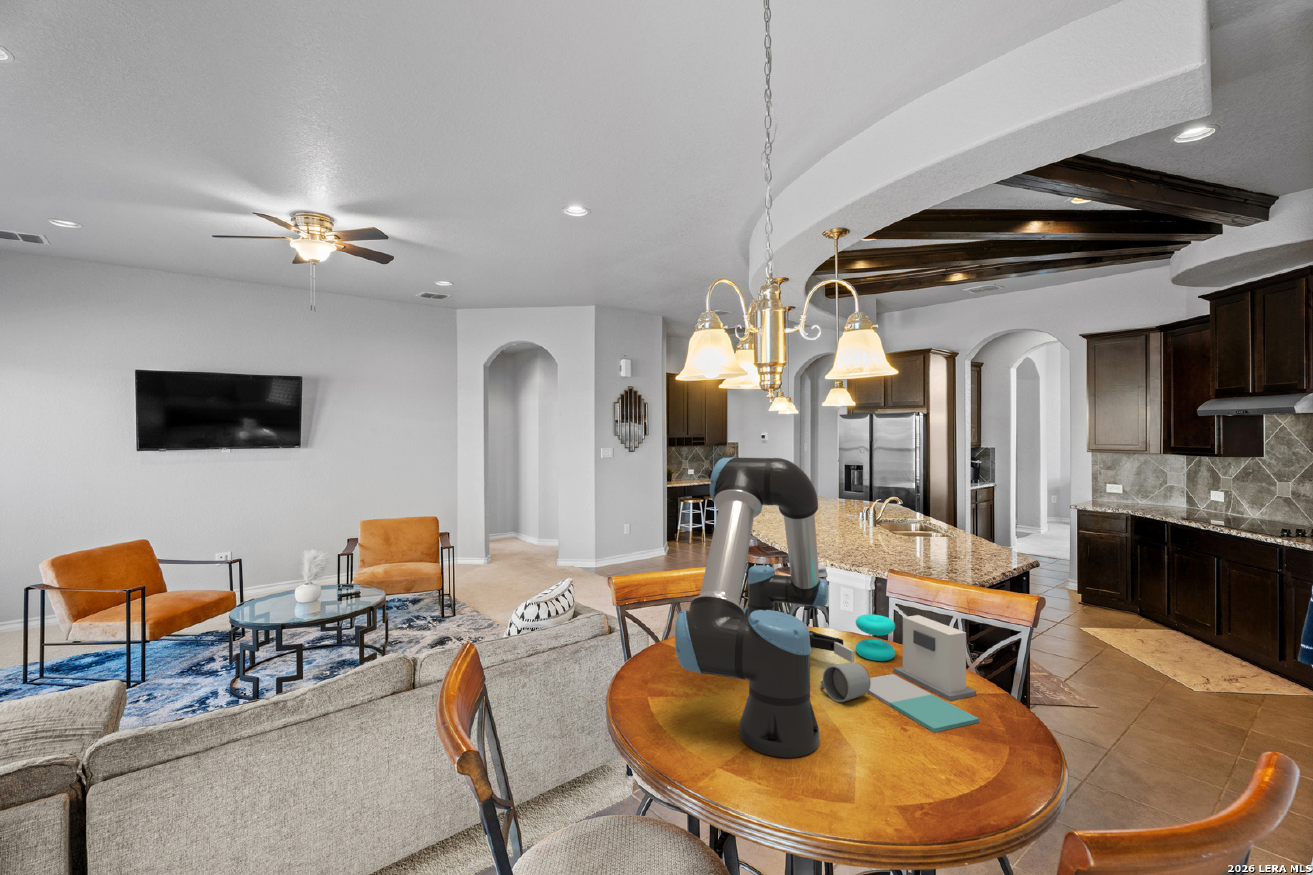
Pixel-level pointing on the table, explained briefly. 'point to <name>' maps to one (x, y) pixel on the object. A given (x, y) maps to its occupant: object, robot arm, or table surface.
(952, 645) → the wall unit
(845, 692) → the ceramic mug
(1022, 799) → the table surface
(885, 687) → the mat
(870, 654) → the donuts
